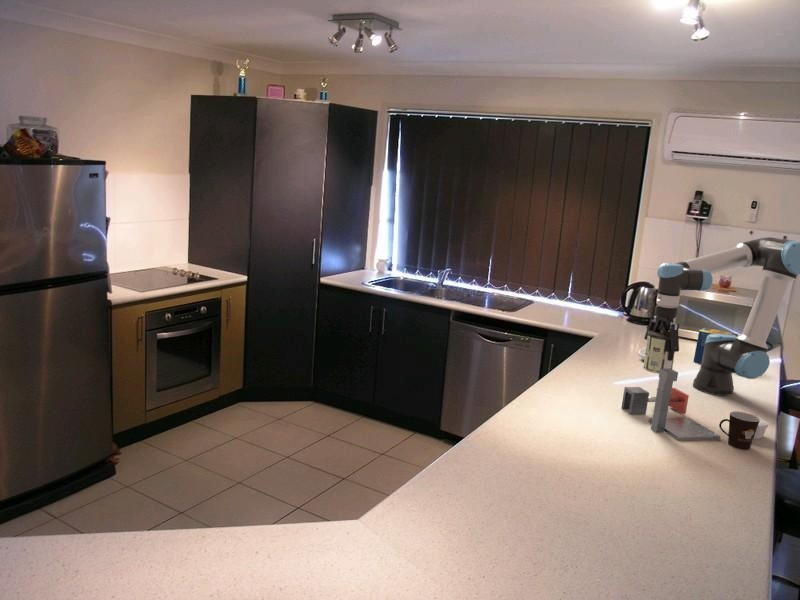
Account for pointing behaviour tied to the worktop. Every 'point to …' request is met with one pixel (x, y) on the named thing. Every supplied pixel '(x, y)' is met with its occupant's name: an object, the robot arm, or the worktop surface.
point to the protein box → (702, 339)
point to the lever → (676, 400)
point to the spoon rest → (642, 353)
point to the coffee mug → (741, 429)
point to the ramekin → (760, 429)
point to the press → (665, 410)
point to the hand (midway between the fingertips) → (658, 363)
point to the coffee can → (655, 351)
